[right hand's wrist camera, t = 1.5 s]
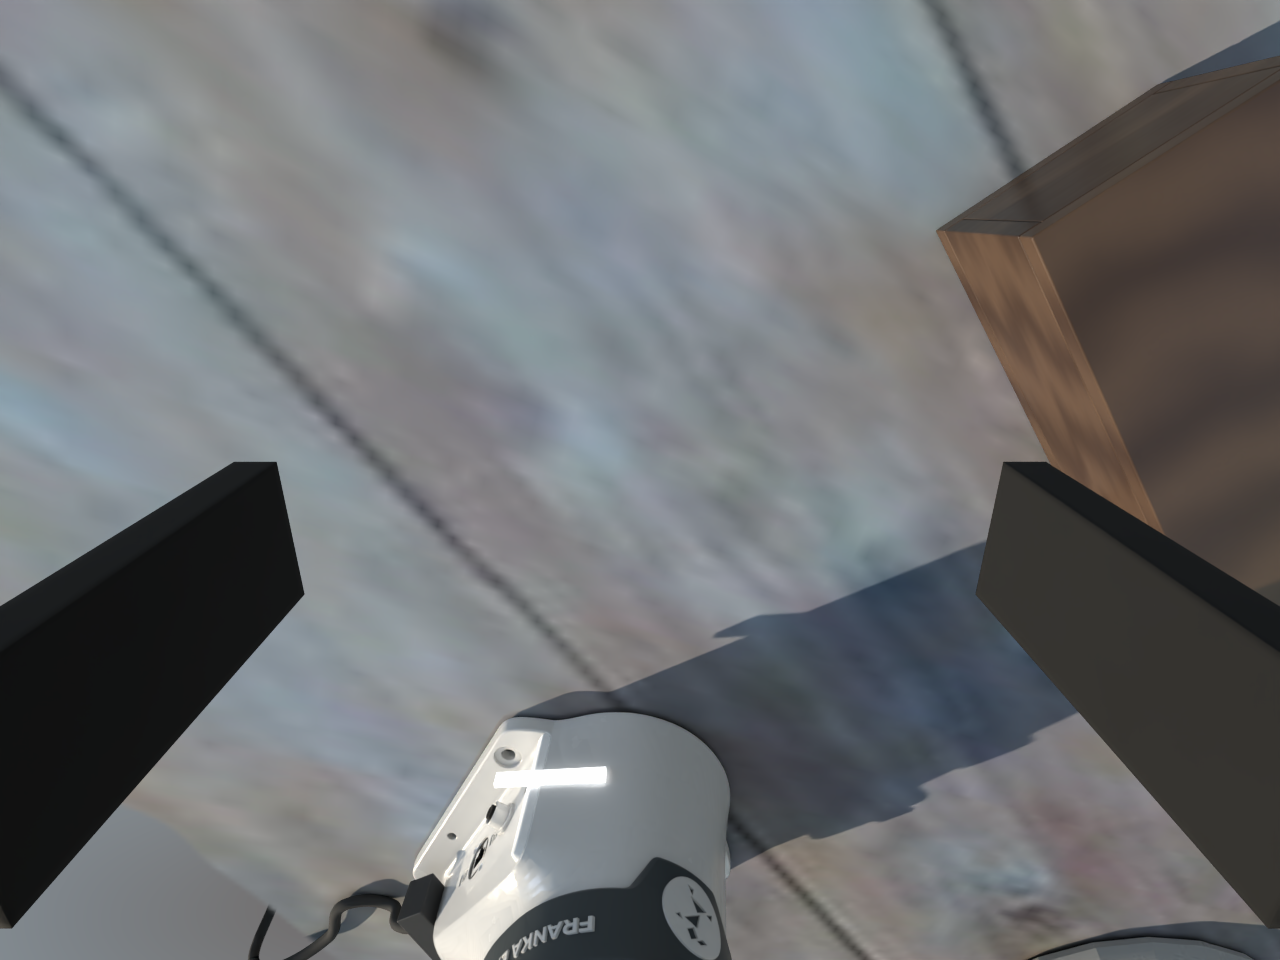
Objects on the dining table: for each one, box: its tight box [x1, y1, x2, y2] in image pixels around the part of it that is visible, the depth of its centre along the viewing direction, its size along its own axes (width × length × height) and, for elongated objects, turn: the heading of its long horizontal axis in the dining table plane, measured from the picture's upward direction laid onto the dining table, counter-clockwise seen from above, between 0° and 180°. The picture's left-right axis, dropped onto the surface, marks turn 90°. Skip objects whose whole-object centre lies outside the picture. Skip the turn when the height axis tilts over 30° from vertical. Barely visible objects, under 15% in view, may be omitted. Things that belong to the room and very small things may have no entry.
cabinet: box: [936, 56, 1280, 606], centre depth 30 cm, size 21×10×8 cm, turn 34°
